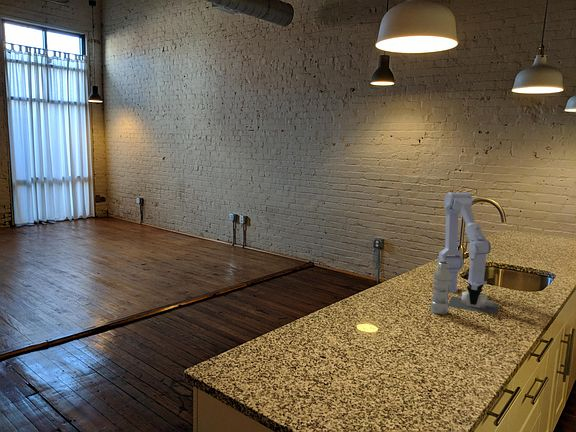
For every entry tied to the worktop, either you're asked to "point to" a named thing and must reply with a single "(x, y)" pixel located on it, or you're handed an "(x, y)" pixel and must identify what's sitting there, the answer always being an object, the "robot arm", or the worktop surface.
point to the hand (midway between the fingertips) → (473, 302)
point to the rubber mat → (489, 308)
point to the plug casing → (480, 303)
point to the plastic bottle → (441, 289)
